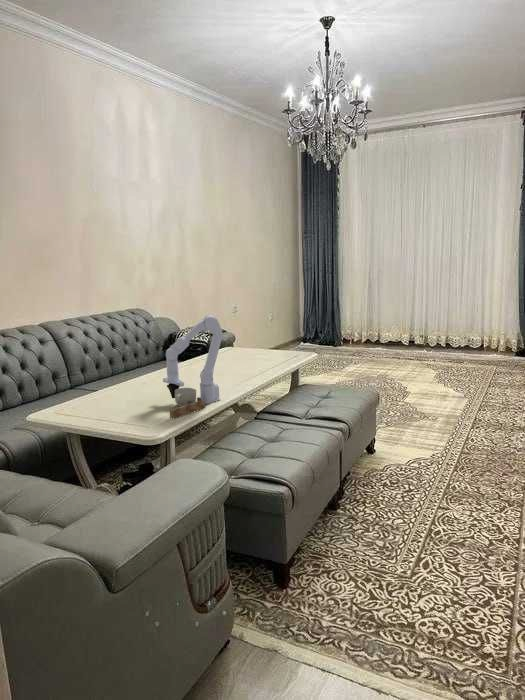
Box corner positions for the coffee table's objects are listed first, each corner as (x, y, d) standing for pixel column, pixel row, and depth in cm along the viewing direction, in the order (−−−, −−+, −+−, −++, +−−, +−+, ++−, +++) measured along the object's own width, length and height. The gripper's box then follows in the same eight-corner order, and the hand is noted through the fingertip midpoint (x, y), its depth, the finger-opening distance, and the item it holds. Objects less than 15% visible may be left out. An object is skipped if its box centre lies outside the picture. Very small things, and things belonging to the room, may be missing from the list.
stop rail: (199, 406, 267) (199, 397, 266) (205, 408, 264) (204, 398, 263) (167, 417, 252) (166, 407, 251) (172, 419, 250) (172, 408, 249)
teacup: (184, 401, 277) (183, 386, 275) (201, 403, 272) (200, 388, 270) (166, 408, 265) (165, 393, 264) (184, 411, 260) (183, 395, 258)
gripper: (157, 371, 272) (159, 397, 275) (175, 375, 263) (177, 402, 265) (168, 368, 277) (170, 394, 280) (186, 372, 268) (188, 399, 270)
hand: (174, 397), depth 273 cm, fingers closed
